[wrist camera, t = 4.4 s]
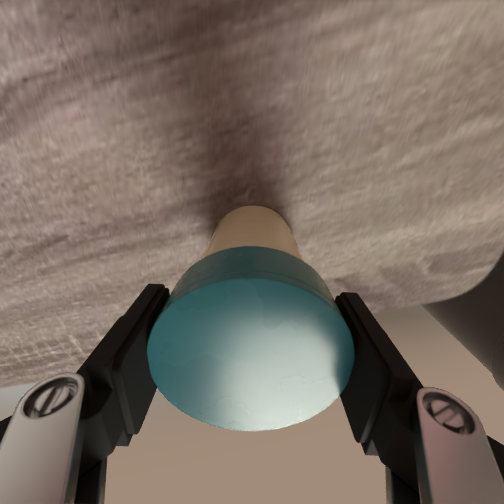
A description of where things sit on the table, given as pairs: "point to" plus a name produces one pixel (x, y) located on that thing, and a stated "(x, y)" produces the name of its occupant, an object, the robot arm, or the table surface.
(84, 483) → the robot arm
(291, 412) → the jar lid
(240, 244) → the jar
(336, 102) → the table surface
